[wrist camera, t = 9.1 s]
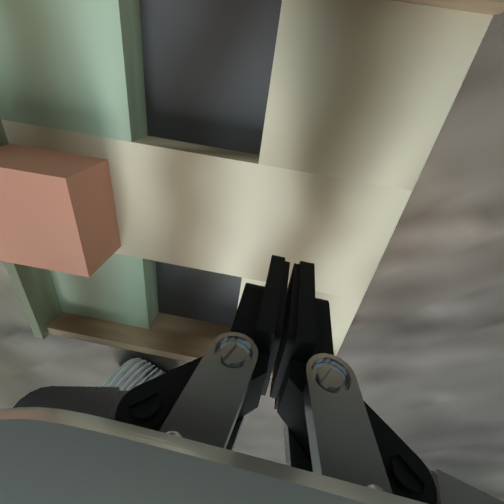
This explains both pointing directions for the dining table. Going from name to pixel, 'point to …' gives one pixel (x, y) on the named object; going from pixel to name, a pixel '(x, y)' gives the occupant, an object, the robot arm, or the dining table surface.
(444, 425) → the dining table surface
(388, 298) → the dining table surface
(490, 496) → the robot arm
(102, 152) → the box
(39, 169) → the block
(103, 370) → the dining table surface
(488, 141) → the dining table surface
